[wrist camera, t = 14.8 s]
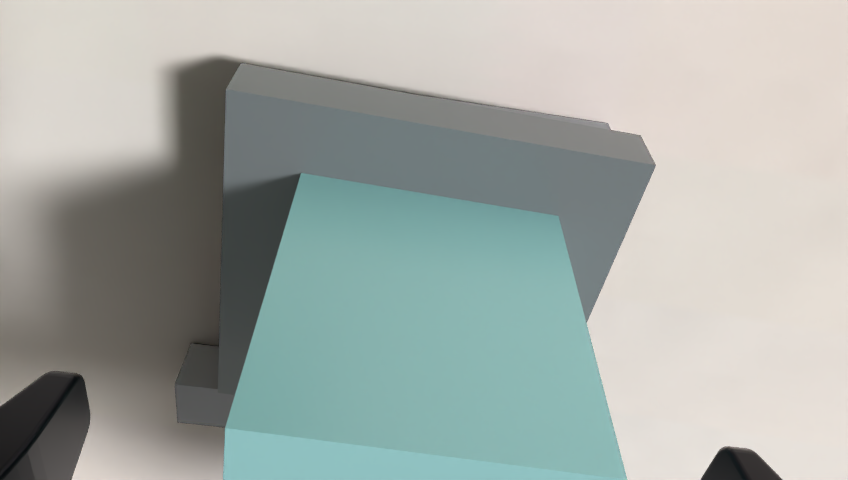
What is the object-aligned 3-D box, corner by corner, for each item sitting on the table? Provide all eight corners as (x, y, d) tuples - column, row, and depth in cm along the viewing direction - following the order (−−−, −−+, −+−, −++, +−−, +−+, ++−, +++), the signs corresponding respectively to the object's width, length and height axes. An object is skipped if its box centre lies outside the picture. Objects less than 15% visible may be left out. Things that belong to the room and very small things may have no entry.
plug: (531, 398, 16) (576, 702, 11) (229, 356, 15) (130, 660, 10) (640, 135, 12) (788, 421, 7) (241, 62, 11) (89, 323, 6)
